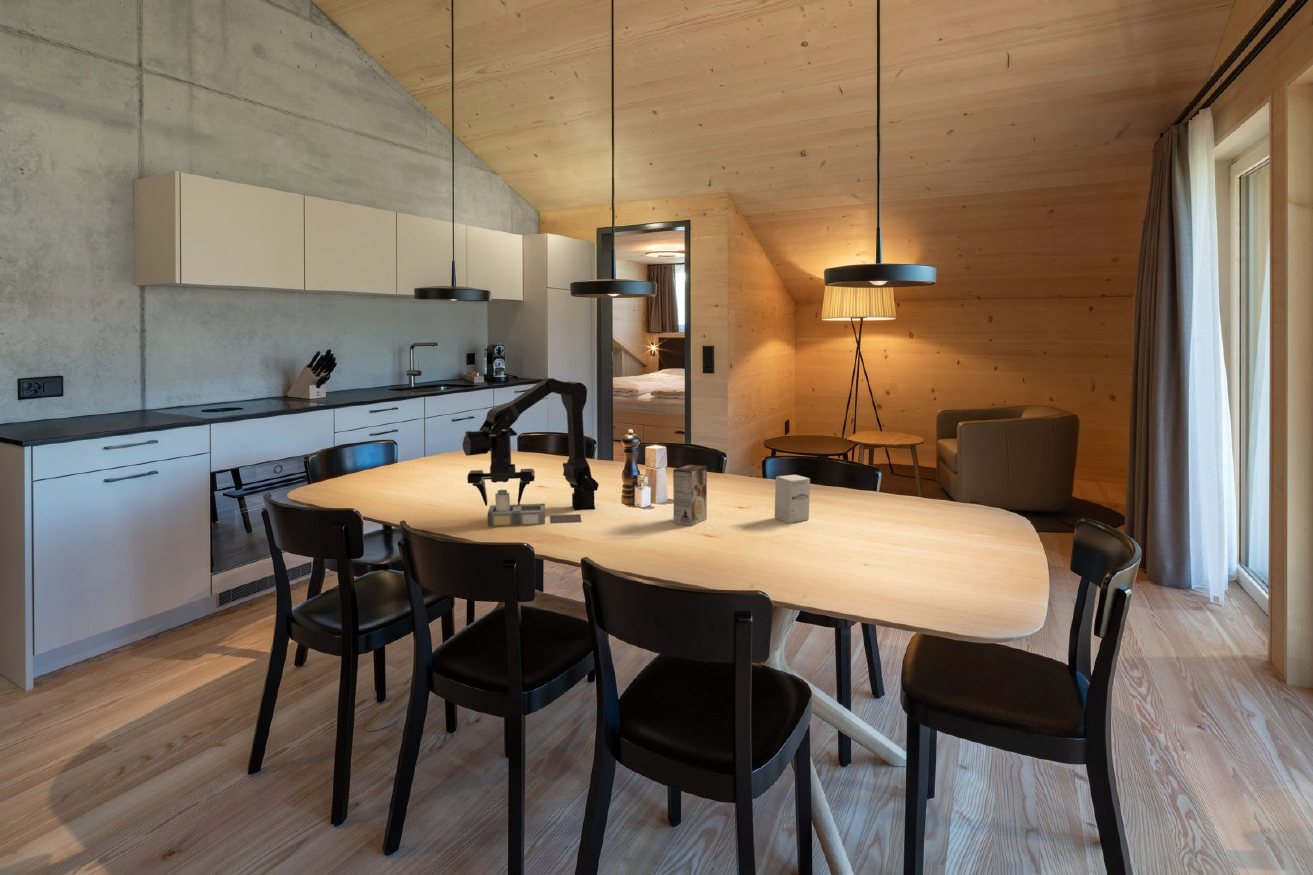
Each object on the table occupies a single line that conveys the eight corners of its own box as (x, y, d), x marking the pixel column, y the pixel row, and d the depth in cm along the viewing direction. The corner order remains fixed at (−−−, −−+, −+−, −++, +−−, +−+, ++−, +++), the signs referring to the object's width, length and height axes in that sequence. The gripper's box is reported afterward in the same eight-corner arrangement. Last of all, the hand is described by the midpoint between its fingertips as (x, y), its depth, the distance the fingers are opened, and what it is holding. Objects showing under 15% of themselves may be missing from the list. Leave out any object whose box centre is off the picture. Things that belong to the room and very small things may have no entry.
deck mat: (580, 515, 222) (580, 514, 222) (581, 523, 213) (581, 522, 213) (550, 516, 221) (550, 515, 221) (550, 524, 212) (550, 523, 212)
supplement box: (789, 523, 212) (790, 480, 210) (773, 517, 219) (774, 476, 217) (809, 520, 215) (810, 478, 214) (793, 514, 222) (794, 473, 220)
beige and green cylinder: (510, 518, 217) (509, 488, 215) (510, 522, 213) (508, 491, 211) (497, 519, 216) (495, 489, 215) (495, 522, 212) (494, 492, 211)
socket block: (545, 516, 221) (544, 503, 221) (544, 525, 211) (544, 512, 210) (490, 518, 219) (490, 505, 218) (487, 527, 209) (487, 514, 208)
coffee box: (688, 516, 221) (688, 463, 218) (707, 519, 217) (707, 465, 215) (672, 523, 213) (672, 468, 210) (692, 526, 209) (692, 471, 207)
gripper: (463, 457, 202) (466, 513, 205) (532, 456, 205) (534, 510, 207) (468, 451, 213) (470, 503, 216) (533, 449, 216) (535, 501, 218)
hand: (502, 505), depth 214 cm, fingers open, 9 cm apart
